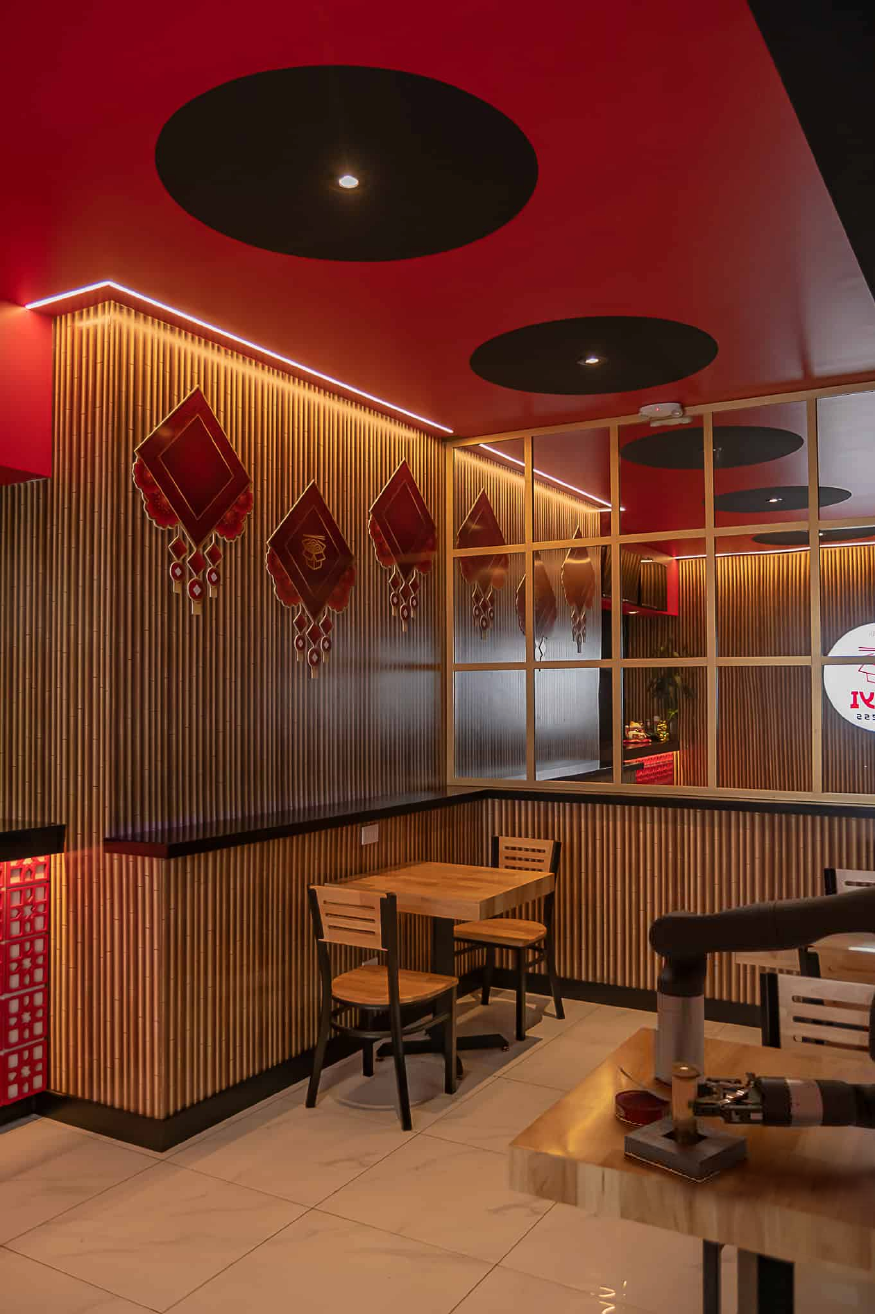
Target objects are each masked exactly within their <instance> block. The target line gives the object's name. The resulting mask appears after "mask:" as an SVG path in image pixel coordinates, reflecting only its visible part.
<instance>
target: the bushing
mask: <svg viewBox="0 0 875 1314" xmlns="http://www.w3.org/2000/svg"><path fill="white" fill-rule="evenodd" d="M669 1073H670V1074H671V1075H672V1085H671V1086H672V1087H671V1088H672V1089H671V1090H672V1091H671V1092H672V1093H671V1095H672V1096H671V1098H672V1099H671V1101H672V1114H673V1141H676V1142H679V1143H682V1144H685V1145H688V1146H690V1147H691V1146H693V1145H695V1144H697V1143H698V1123H699V1121H698V1118H699V1117H696V1116H694V1115H693V1113H692V1102H693V1101H698V1098H697V1077H699V1076H700V1067H699V1066H697V1065H694V1064H691V1063H684V1062H677V1063H672V1064H670V1065H669Z"/></svg>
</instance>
